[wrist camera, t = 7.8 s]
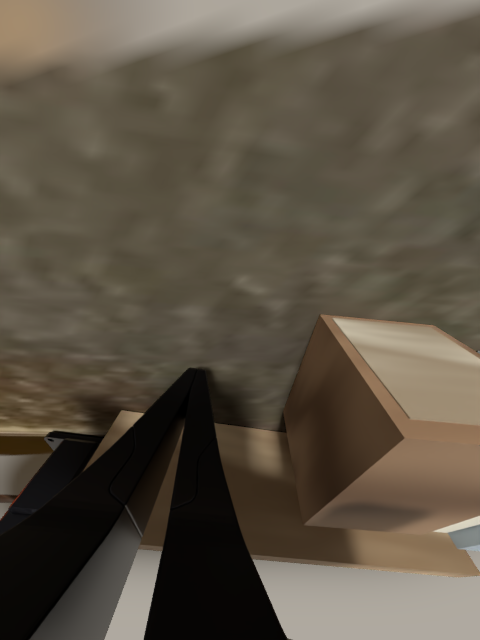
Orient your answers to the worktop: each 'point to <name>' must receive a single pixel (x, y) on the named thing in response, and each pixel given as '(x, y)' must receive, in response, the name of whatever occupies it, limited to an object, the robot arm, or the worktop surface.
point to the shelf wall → (292, 512)
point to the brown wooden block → (385, 427)
